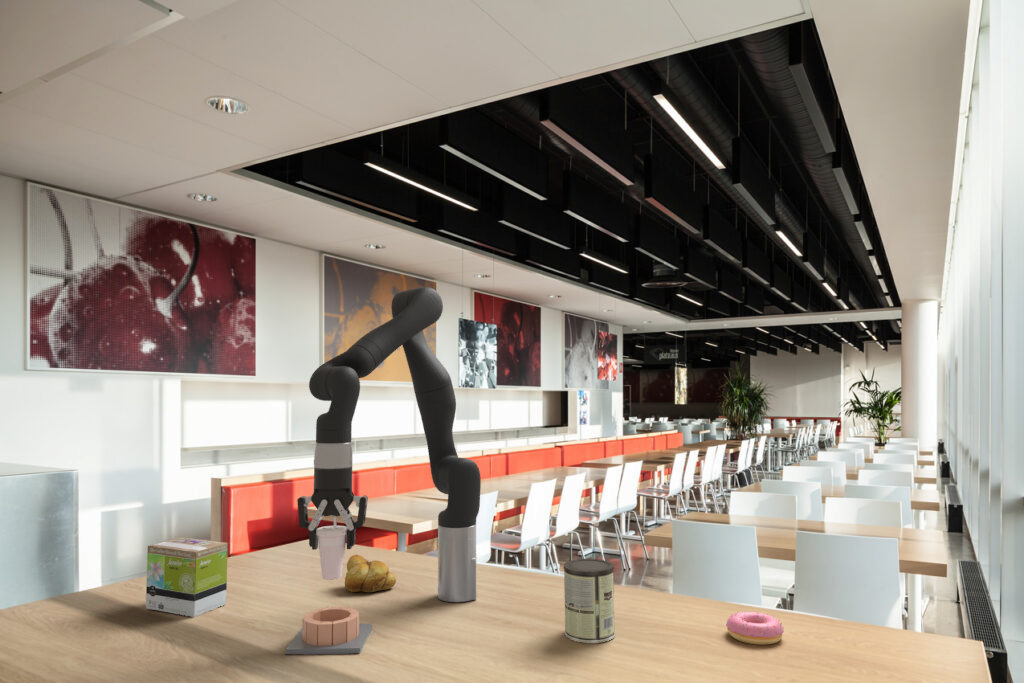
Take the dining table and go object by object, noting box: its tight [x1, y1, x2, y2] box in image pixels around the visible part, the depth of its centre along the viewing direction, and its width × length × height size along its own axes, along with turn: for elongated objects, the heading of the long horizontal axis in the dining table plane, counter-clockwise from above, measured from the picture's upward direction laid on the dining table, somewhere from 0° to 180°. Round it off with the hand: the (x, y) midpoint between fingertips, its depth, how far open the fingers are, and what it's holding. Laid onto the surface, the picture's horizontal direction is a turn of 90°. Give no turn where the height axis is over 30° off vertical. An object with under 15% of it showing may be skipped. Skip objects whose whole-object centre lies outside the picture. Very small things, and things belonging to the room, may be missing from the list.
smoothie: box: [316, 516, 348, 581], centre depth 141 cm, size 6×6×14 cm
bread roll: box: [344, 554, 397, 593], centre depth 176 cm, size 13×10×8 cm
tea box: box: [145, 536, 229, 618], centre depth 162 cm, size 15×10×15 cm
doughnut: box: [725, 611, 785, 646], centre depth 142 cm, size 11×11×4 cm
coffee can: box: [562, 558, 616, 644], centre depth 143 cm, size 10×10×14 cm
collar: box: [285, 606, 373, 656], centre depth 140 cm, size 14×14×5 cm
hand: (332, 548), depth 141 cm, fingers closed on smoothie, 6 cm apart
